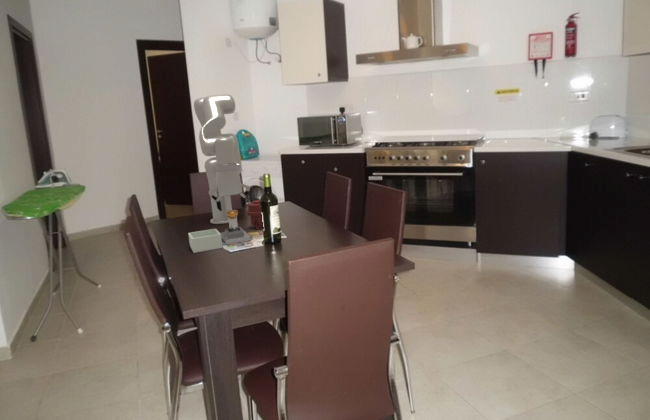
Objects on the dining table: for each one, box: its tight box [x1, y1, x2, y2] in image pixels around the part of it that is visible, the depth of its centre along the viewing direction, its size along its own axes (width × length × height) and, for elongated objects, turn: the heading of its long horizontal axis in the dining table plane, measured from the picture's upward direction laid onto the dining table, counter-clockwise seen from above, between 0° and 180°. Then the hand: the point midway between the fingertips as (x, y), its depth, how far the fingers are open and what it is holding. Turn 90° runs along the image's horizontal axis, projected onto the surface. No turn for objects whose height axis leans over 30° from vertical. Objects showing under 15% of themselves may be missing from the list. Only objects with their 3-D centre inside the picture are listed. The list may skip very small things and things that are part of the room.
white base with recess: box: [219, 226, 251, 245], centre depth 212 cm, size 14×10×4 cm
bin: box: [187, 228, 223, 254], centre depth 203 cm, size 11×11×6 cm
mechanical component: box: [246, 199, 264, 230], centre depth 228 cm, size 12×10×10 cm
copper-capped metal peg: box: [226, 209, 239, 232], centre depth 211 cm, size 5×5×10 cm
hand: (231, 208), depth 209 cm, fingers open, 9 cm apart
